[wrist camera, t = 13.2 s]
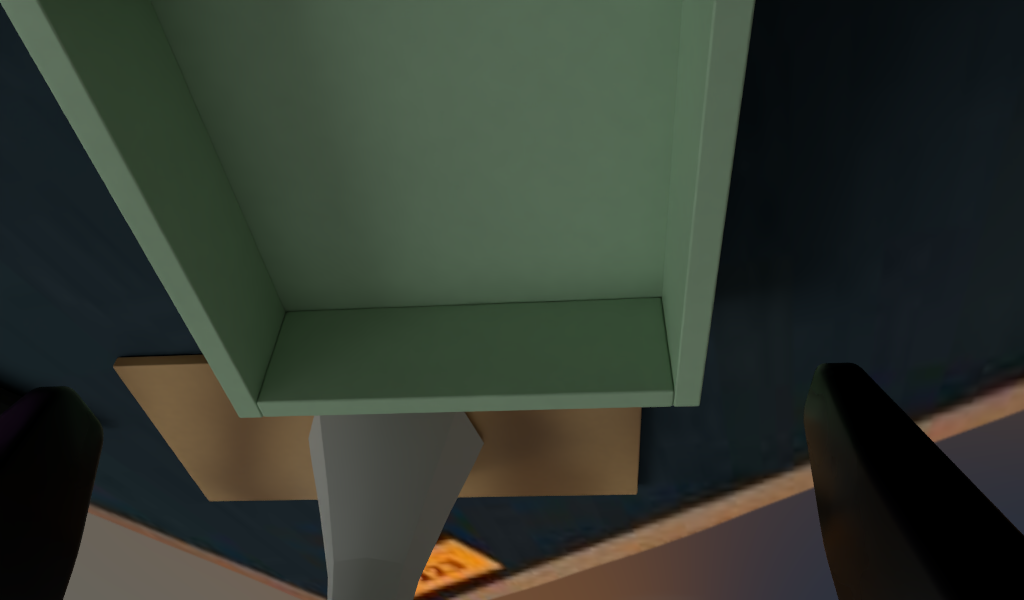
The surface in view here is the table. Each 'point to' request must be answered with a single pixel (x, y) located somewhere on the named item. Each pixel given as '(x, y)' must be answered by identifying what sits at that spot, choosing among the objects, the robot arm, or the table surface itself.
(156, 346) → the table surface
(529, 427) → the cork mat
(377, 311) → the bin
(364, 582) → the flask
